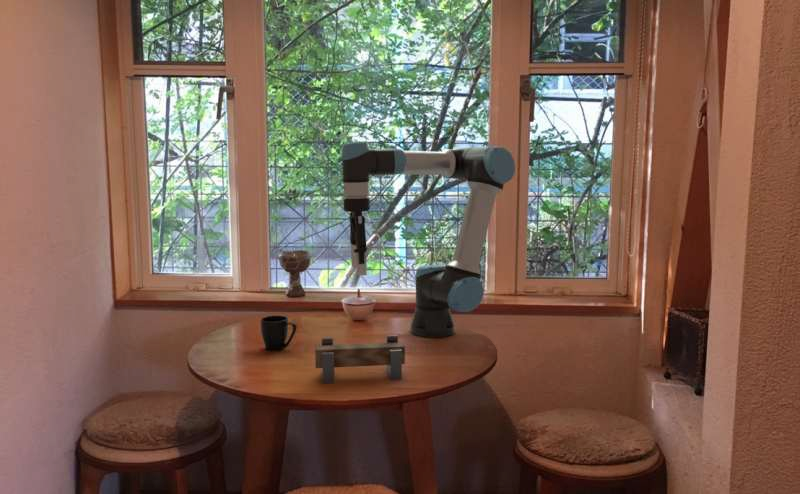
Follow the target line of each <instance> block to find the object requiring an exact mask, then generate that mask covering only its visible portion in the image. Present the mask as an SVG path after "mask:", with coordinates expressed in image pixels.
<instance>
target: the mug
mask: <svg viewBox="0 0 800 494" xmlns="http://www.w3.org/2000/svg"><path fill="white" fill-rule="evenodd" d="M289 326H292V331H291V334H290V337H289V338H288V340H287V337H288V331H289ZM297 327H298V326H297V324H296V323H295V322H289V318H288V317H287V316H284V315H268V316H265V317H262V318H261V319H260V330H261V337H262V341H263V343H264V345H265V349H266V350H267V351H269V352H270V351H271V352H278V351H281V350H284V349H286V348H288V346H289V345H290V343H291V342H292V341H293V338H294V337H295V334H296V331H297Z"/></svg>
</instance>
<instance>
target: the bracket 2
mask: <svg viewBox="0 0 800 494" xmlns="http://www.w3.org/2000/svg"><path fill="white" fill-rule="evenodd" d="M395 342H399V335H398V334H387V335H386V343H395ZM402 366H403V364H402V350H401V349H399V350H390V365H386V372H387V374H388V377H389V380H390V381H396V380H398V381H401V380H402V379H403V377H402V372H403V369H402Z"/></svg>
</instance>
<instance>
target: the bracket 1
mask: <svg viewBox="0 0 800 494" xmlns="http://www.w3.org/2000/svg"><path fill="white" fill-rule="evenodd" d="M321 345H334V338H333V337H321ZM322 361H323V368H321V376H322V377H321V378H322V384H334V383H335V367H334V352H328V353H322Z"/></svg>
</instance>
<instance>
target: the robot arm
mask: <svg viewBox="0 0 800 494" xmlns="http://www.w3.org/2000/svg"><path fill="white" fill-rule="evenodd" d="M341 165H342V167H341V168H342V184H343V185H341V186H340V188H341V190H342V192H343V196H344V197H343V201H342V202H343V210H344V211H345V212H347V213H349V212H350V213H349V215H350V217H349V227H350V230H349V231H350V233H349V235H350V236H349V241H350V257H351V260H350V261H351V263H350V264H351V265H350V266H351V268H353V267H354V268H355V267H356V268H355V269H356V271H355V272H356V276H367V274H368V273H367V250H368V247H367V238H366V237H367V236H366V224H365V223H366V218H365V217H366V216H364V215H363V213H364V212H368V211H369V212H370V209H371V200H370V199H371V198H370V197H369V196H370V195H371V187H370V176H390V175H391V176H395V175H414V176H415V175H416V176H417V175H419V176H420V175H421V176H423V175H424V176H425V175H427V176H429V175H430V176H441V177H442V178H444V179H455V180H462V181H467V182H466V183H467V186H468V188H469V193H468V197H467V201H466V204H465V209H464V213H463V217H462V221H461V225H460V228H459V232H458V237H457V240H456V245H455V248H454V252H453V256H452V260H451V261H450V262H448V263H447V264H429V265H422V266H419V267H417V268H416V270H415V271H416V272H415V310H414V314H413V317H412V320H411V322H410V333H411V334H412V335H416V336H419V337H423V338H424V337H425V338H443V337H449V336H452V335H453V334H455V329H456V328H455V322H454V320H453V316H452V313H451V310H452V311H456V312H460V313H467V312H468V313H469V312H471V311H473V310H474V309H476V308H478V306H479V305H480V304H481V303H482V301H483V298H484V294H485V287H484V285H483V284H484V283H483V282H482V281H481V276H482V273H481V271H480V268H479V265H480V261H481V260H480V259H481V257H482V253H483V248H484V246H485V242H486V237H487V233H488V230H489V225H490V221H491V217H492V213H493V209H494V205H495V202H496V198H497V196H498V195H499V194H501V193H502V192H503V190H504V185H505V184H506V183H509V182H510V181H511V180H512V179H513V177H514V175H515V171H516V162H515V158H514V157H513V154H512V153H511V152H510V150H509V149H508V148H506V147H504V146H499V145H498V146H497V145H489V146H487V145H486V146H484V145H483V146H468V147H461V148H452V149H451V148H446V149H443V150H442V151H428V150H427V151H421V150H420V151H419V150H403V149H400V148H370V145H369V143H368V142H367V141H364V142H363V141H358V142H357V141H355V142H353V141H352V142H351V141H350V142H344V143H343V144H342V149H341Z"/></svg>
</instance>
